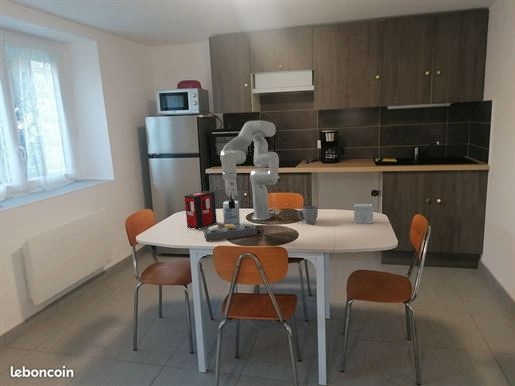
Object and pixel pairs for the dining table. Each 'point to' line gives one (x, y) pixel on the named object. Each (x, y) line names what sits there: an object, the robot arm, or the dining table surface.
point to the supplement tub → (231, 214)
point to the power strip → (231, 232)
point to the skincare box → (363, 213)
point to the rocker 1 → (213, 228)
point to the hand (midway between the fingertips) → (232, 208)
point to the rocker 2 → (245, 224)
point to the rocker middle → (229, 225)
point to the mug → (309, 214)
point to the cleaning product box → (200, 209)
